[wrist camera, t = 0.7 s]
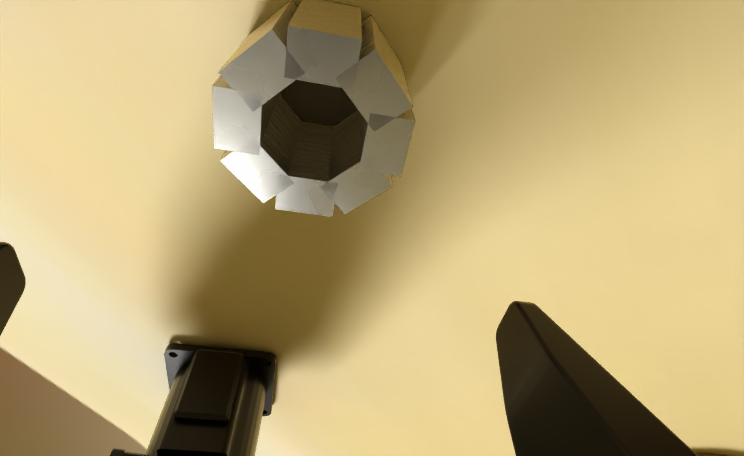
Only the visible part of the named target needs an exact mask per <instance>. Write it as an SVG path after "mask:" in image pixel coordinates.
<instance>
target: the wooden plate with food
mask: <svg viewBox="0 0 744 456" xmlns="http://www.w3.org/2000/svg"><path fill="white" fill-rule="evenodd" d="M696 454H697V455H698V456H724V455H716V454H703V453H696Z"/></svg>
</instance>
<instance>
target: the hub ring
mask: <svg viewBox="0 0 744 456" xmlns="http://www.w3.org/2000/svg"><path fill="white" fill-rule="evenodd" d="M218 73H219V74H220V75H221V76H220V77H219V78H218V79H217V81H216V82H215V83H214V84H213V86H212V87H213V123H214V148H215V149H222V150H226V151H225V153H224V154H223V156H222V158H221V160H220V161H221V162H222V163H223V164H224V165H225V166H226V167H227V168H228V169H229V170H230V171H231V172H232V173H233V174H234V175H235V176H236V177H237V178H238V179H239V180H240V181H241V182H242V183H243V184H244V185H245V186H246V187H247V188H248V189H249V190H250V191H251V192H252V193H253V194H254V195H255V196H256V197H257V198H258V199H259V200H260V201H261V202H262V203H265V202H266V201H268V200H269V199H271V198H272V197H274V196H276V204H275V209H277V210H285V211H292V212H299V213H306V214H314V215H321V216H328V217H333V211H334V205H335V204H336V205H337V206H338V208H339V209H340V210H341V211H342V212H343V213H344V214H347V213H349V212H350V211H352V210H354V209H355V208H357V207H359V206H361V205H362V204H364V203H366V202H367V201H369V200H371V199H372V198H374V197H376V196H378V195H379V194H381V193H383V192H384V191H386V190H388V189H389V188H391V187H393V185H392V177H391V175H392V176H398V177H401V173H402V169H403V165H404V161H405V157H406V154H407V150H408V146H409V142H410V138H411V135H412V131H413V127H414V123H415V118H414V114H413V111H412V107H413V105H412V101H411V98H410V94H409V90H408V87H407V83H406V80H405V76H404V72H403V69H402V65H401V62H400V61H399V59H398V57H397V56H396V54H395V53H394V51H393V49H392V48H391V46H390V45H389V43H388V41H387V40H386V38H385V37H384V35H383V33H382V32H381V30H380V29H379V27H378V25H377V24H376V22H375V21H374V19H373V17H372V16H370V17H368V18H367V19H366V20H364V21H363V22H362V23H361V8H359V7H354V6H349V5H344V4H340V3H335V2H330V1H325V0H302V1H301V3H300V5H299V6H298V7H297V6H296V4H295V3H294V2H293V0H290V1H289V2H288V3H287V4H286V5H284V6H283V7H282V8H281V9H279V10H278V11H277V12H276V13H275V14H273V15H272V16H271V17H270V18H269V19H267V20H266V21H265V22H264V23H262V24H261V25H260V26H259V27H258V28H256V29H255V30H254V31H253V32H252V33H250V34H249V36H248V37H247V38H246V39H245V40H244V42H243V43H242V44H241V45H240V47H239V48H238V49H237V50H236V51H235V53H234V54H233V55H232V56H231V58H230V59H229V60H228V61H227V62H226V64H225V65H224V66H223V67H222V69H221V70H220V71H219V72H218ZM295 80H301V81H307V82H312V83H318V84H324V85H329V86H335V87H340V88H343V90H344V91H345V92H346V94H347V95H348V96H349V98H350V99H351V101H352V102H353V103H354V105H355V106H356V107H357V109H358V110H357V111H356V112H354V113H353V114H351V115H350V116H348V117H347V118H345V119H344V120H342V121H341V122H339V123H338V124H336V125H335V126H329V125H323V124H317V123H311V122H305V121H301V119H300V118H299V117H298V116H297V115H296V113H295V112H294V111H293V110H292V109H291V107H290V106H289V105H288V104H287V103H286V101H285V100H284V99H283V98H282V97H281V95H280V91H282V90H283V89H284V88H286V87H287V86H288V85H290V84H291V83H292V82H294V81H295Z"/></svg>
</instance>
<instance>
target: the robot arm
mask: <svg viewBox="0 0 744 456" xmlns="http://www.w3.org/2000/svg"><path fill="white" fill-rule="evenodd" d="M24 288H25V276H24V273H23V270H22V268H21V265H20V263H19V260H18V257H17V255H16V252H15V250H14V248H13V247H12V246H11V245H10V244H9V243H6V242H0V335H1V333H2V331H3V329H4V327H5V326H6V324H7V322H8V320H9V318H10V316H11V314H12V312H13V310H14V309H15V307H16V305H17V303H18V301H19V299H20V297H21V295H22V293H23V291H24ZM496 343H497V351H498V358H499V366H500V374H501V382H502V389H503V397H504V404H505V410H506V415H507V420H508V424H509V429H510V433H511V437H512V441H513V445H514V449H515V454H516V456H698V455H697V454H696V453H694V452H693V451H692V450H691V449H690V448H689V447H688V446H687V445H686V444H685V443H684V442H683V441H682V440H681V439H679V438H678V437H677V436H676V435H675V434H674V433H673V432H672V431H671V430H670V429H669V428H668V427H667V426H666V425H664V424H663V423H662V422H661V421H660V420H659V419H658V418H657V417H656V416H655V415H654V414H653V413H652V412H650V411H649V410H648V409H647V408H646V407H645V406H644V405H643V404H642V403H641V402H640V401H639V400H638V399H637V398H635V397H634V396H633V395H632V394H631V393H630V392H629V391H628V390H627V389H626V388H625V387H624V386H623V385H622V384H620V383H619V382H618V381H617V380H616V379H615V378H614V377H613V376H612V375H611V374H610V373H609V372H608V371H606V370H605V369H604V368H603V367H602V366H601V365H600V364H599V363H598V362H597V361H596V360H595V359H594V358H593V357H591V356H590V355H589V354H588V353H587V352H586V351H585V350H584V349H583V348H582V347H581V346H580V345H579V344H577V343H576V342H575V341H574V340H573V339H572V338H571V337H570V336H569V335H568V334H567V333H566V332H565V331H564V330H562V329H561V328H560V327H559V326H558V325H557V324H556V323H555V322H554V321H553V320H552V319H551V318H550V317H549V316H547V315H546V314H545V313H544V312H543V311H542V310H541V309H540V308H539V307H538V306H537V305H535V304H534V303H530V302H521V301H514V302H512V303H511V304H510V305H509V307H508V309H507V311H506V313H505V315H504V317H503V318H502V320H501V322H500V324H499V326H498V328H497V332H496ZM164 355H165V362H166V369H167V375H168V382H169V389H170V392H169V394H168V397H167V399H166V402H165V405H164V407H163V410H162V412H161V415H160V418H159V420H158V423H157V426H156V428H155V431H154V433H153V436H152V439H151V441H150V444H149V446H148V449H147V452H146V454H145V455H143V454H137V453H131V452H125V450H124V449H117V448H114V449H113V451H112V452H111V455H110V456H255V451H256V446H257V441H258V435H259V430H260V424H261V419H262V416H268V415H270V414H271V410H272V402H273V391H274V381H275V370H276V360H277V358H276V356H275V355H274V354H272V353H266V352H256V351H245V350H234V349H223V348H213V347H202V346H191V345H180V344H170V345H168V346H167V348H166V350H165V353H164Z"/></svg>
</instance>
